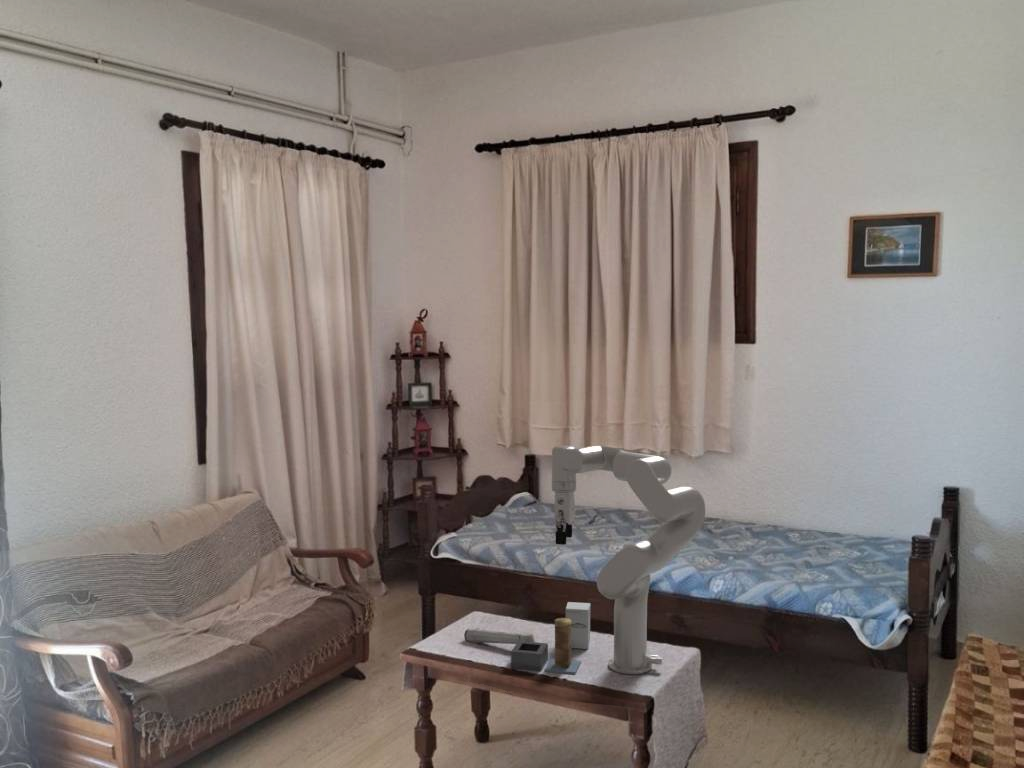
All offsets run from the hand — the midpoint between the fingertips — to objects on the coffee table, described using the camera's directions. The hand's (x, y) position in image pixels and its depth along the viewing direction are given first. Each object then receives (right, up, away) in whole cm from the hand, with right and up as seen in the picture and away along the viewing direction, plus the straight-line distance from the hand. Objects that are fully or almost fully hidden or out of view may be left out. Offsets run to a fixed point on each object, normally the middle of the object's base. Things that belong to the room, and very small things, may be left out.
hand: (563, 540), depth 270 cm
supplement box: (+4, -33, +3) cm, 34 cm away
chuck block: (-11, -34, -13) cm, 38 cm away
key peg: (-1, -34, -15) cm, 37 cm away
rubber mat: (-1, -34, -15) cm, 38 cm away
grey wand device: (-20, -34, +1) cm, 39 cm away
